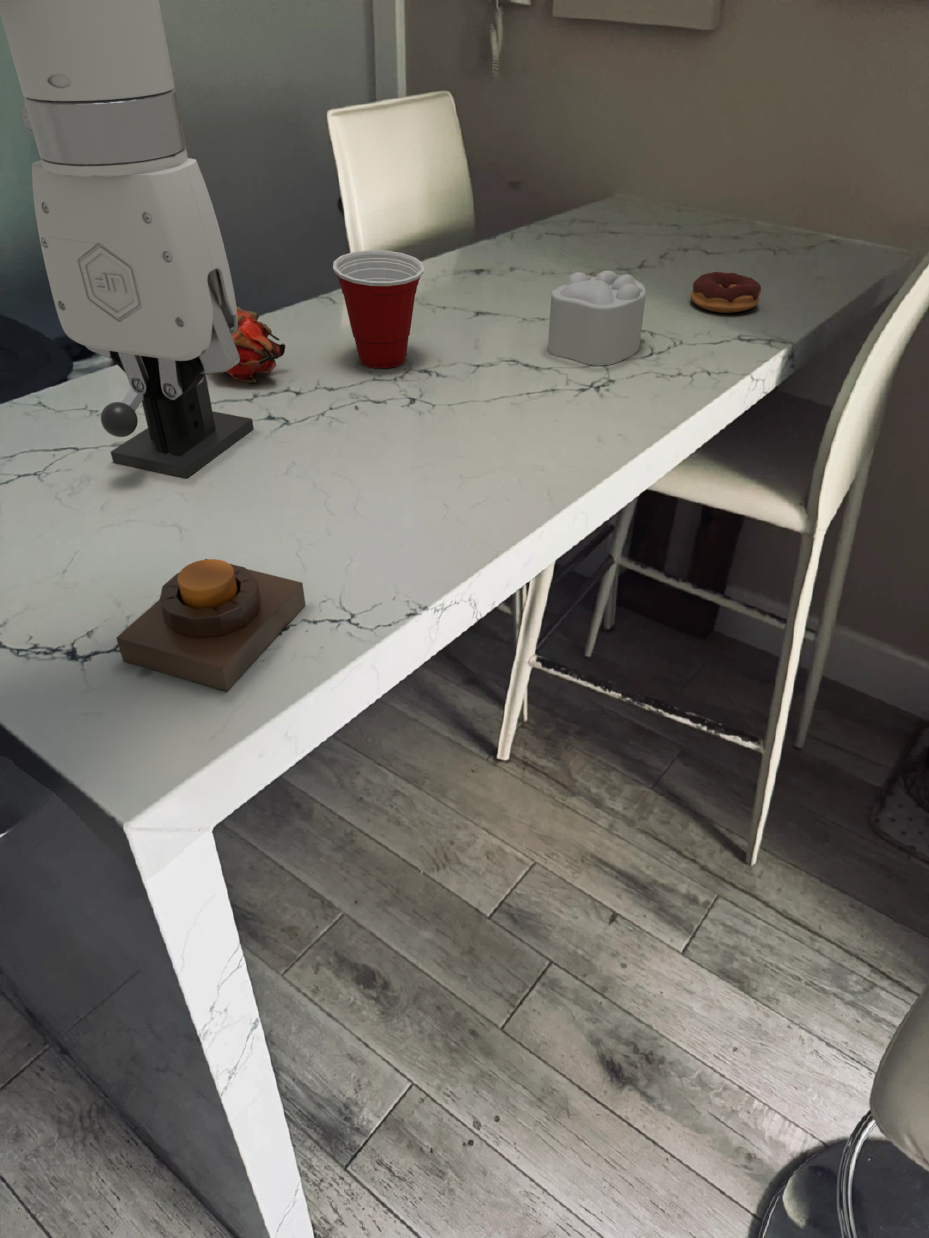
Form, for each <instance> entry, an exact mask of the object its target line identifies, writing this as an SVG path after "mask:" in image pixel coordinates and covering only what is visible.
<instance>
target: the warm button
mask: <svg viewBox="0 0 929 1238" xmlns="http://www.w3.org/2000/svg"><path fill="white" fill-rule="evenodd" d="M206 559H207V560H205V559H200V560H197V561H194V562H192V563H189V564H187V565H186V566H184V567H182V569H181V570H180V571H179V572H178V573H179V574H178V578H177V580H178V585H179V589H180V593H181V597H182V600H183V602H184V603H185V604H186V605H187V606H190V607H193V608H197V609H199V608H211V607H217V606H219V605H222V604H224V603H227V602H229V601H231V600H232V599H233V598H234V597H235V596H236V593H237V585H236V580H235V574H234V570H233V567H232V566H231V565H230V564H231V563H229V562H228V561H225V560H222V559H217V558H206Z"/></svg>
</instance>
